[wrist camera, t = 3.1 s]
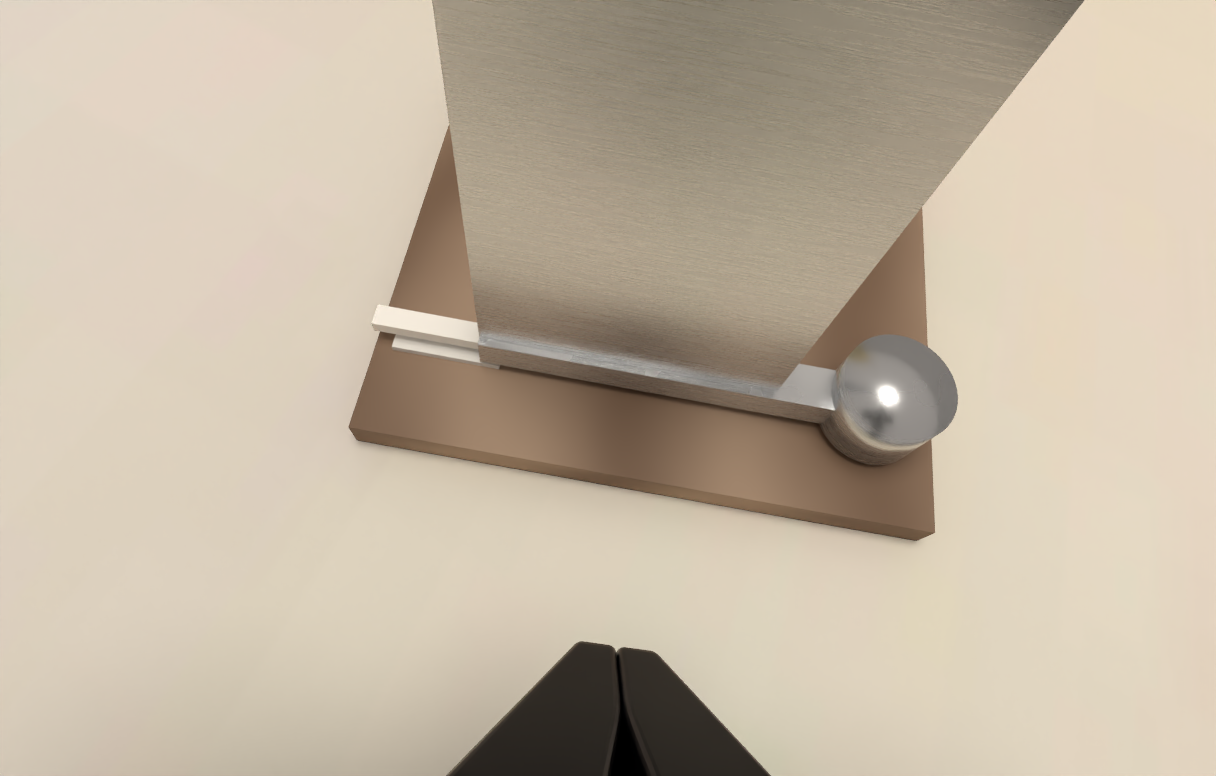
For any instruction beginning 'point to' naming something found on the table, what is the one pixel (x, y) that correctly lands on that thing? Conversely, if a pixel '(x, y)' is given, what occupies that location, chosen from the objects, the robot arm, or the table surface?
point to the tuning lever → (714, 189)
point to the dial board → (637, 402)
